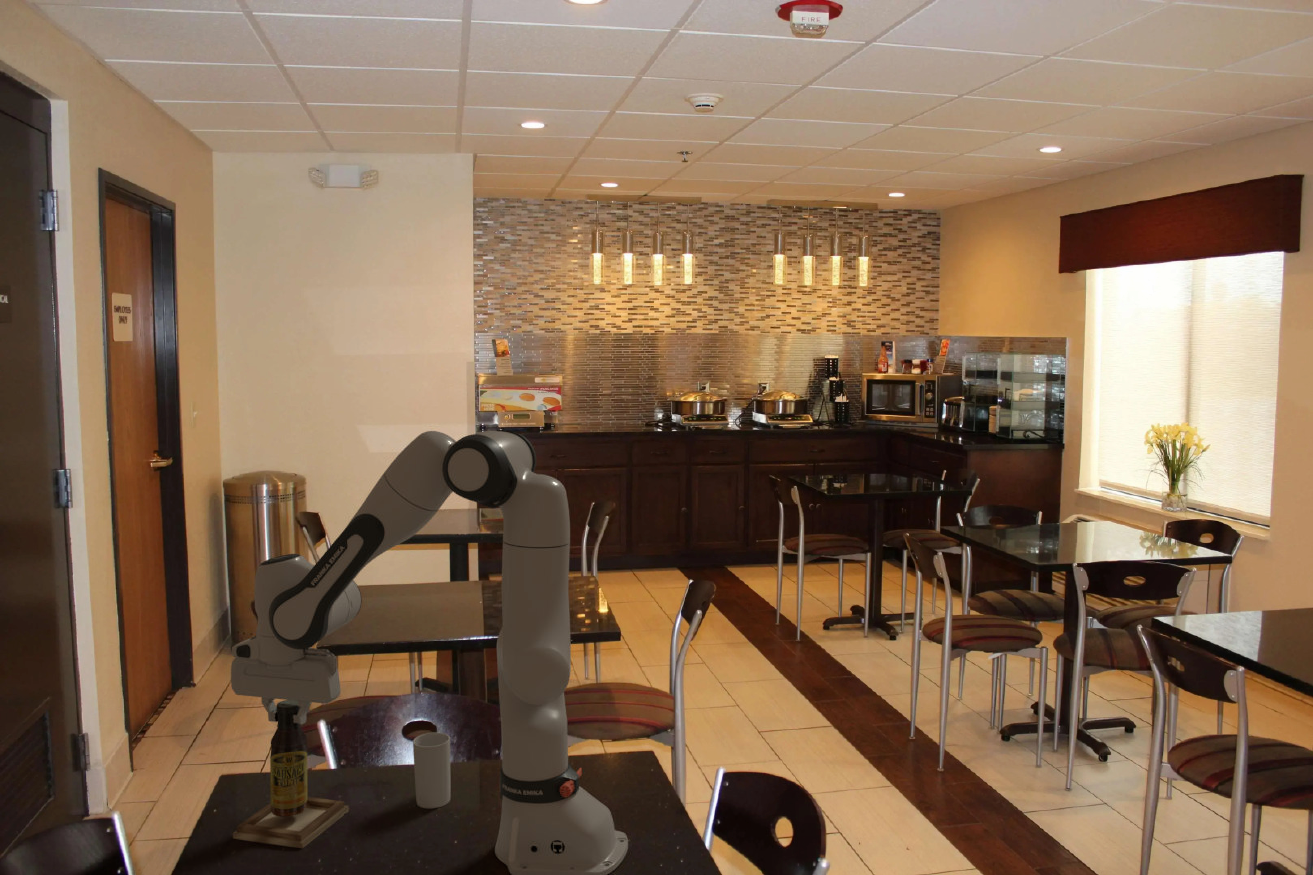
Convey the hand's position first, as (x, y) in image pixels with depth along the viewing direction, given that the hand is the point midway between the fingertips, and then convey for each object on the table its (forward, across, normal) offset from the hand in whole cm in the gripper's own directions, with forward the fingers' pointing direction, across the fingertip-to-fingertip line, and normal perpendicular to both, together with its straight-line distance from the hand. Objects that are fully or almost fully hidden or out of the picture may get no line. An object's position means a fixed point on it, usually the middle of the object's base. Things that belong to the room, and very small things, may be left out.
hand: (287, 721), depth 176 cm
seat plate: (+19, 0, 0) cm, 19 cm away
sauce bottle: (+17, 0, 0) cm, 17 cm away
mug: (+19, -20, -16) cm, 32 cm away
